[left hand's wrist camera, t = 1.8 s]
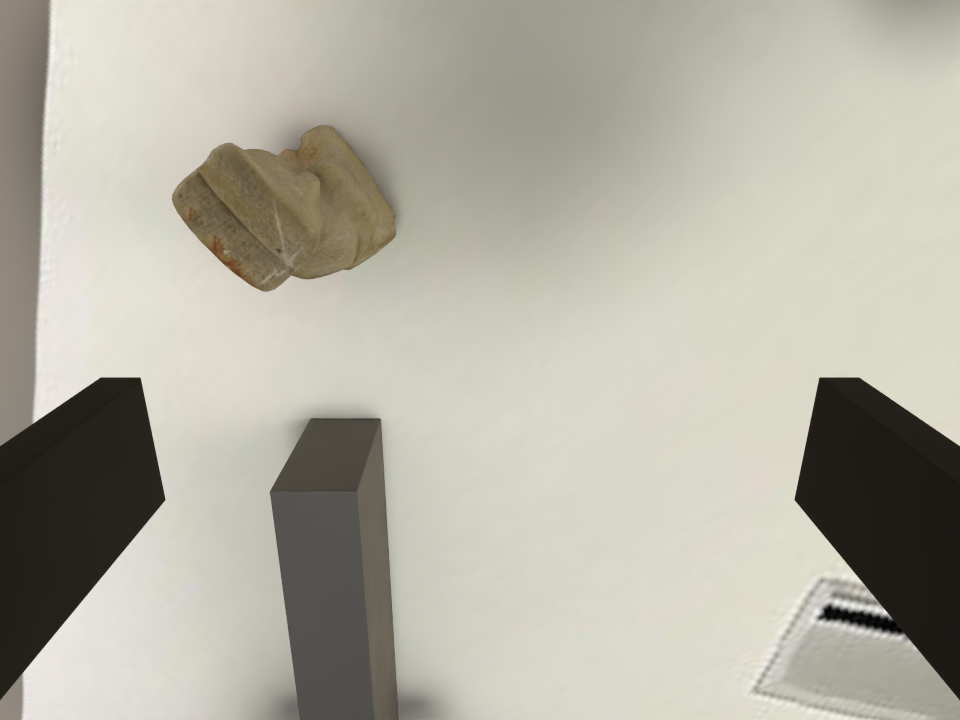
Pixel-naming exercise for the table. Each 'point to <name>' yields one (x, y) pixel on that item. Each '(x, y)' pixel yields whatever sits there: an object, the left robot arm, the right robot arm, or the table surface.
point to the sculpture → (286, 209)
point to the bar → (337, 571)
